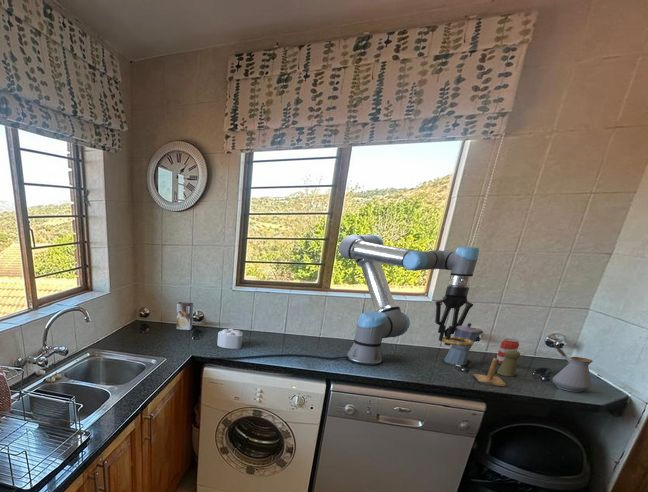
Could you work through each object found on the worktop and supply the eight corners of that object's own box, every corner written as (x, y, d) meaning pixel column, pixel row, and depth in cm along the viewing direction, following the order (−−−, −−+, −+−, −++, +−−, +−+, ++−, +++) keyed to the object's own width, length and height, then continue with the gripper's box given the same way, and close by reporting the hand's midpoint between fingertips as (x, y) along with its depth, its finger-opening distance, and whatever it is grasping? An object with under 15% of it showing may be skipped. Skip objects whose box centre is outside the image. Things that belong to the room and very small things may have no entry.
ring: (444, 344, 170) (445, 340, 169) (438, 338, 180) (438, 334, 179) (476, 347, 166) (477, 344, 165) (468, 341, 176) (469, 337, 175)
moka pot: (477, 368, 188) (491, 326, 181) (440, 365, 191) (452, 324, 184) (466, 361, 197) (479, 321, 190) (431, 359, 200) (443, 319, 193)
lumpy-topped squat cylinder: (240, 349, 213) (242, 333, 209) (216, 347, 216) (217, 331, 212) (241, 343, 222) (243, 328, 219) (218, 342, 225) (219, 327, 222)
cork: (514, 373, 182) (523, 350, 178) (514, 377, 177) (522, 353, 173) (497, 370, 185) (505, 347, 181) (496, 374, 181) (504, 350, 177)
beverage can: (492, 362, 196) (500, 338, 192) (500, 360, 198) (508, 337, 194) (506, 366, 191) (514, 342, 186) (514, 364, 193) (523, 340, 189)
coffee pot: (596, 394, 160) (613, 359, 155) (564, 393, 162) (579, 357, 156) (554, 375, 180) (567, 343, 174) (526, 374, 181) (538, 342, 176)
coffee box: (192, 328, 253) (193, 302, 248) (190, 330, 248) (191, 304, 242) (178, 326, 256) (179, 301, 250) (175, 329, 250) (176, 303, 245)
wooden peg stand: (478, 383, 171) (486, 360, 167) (472, 376, 179) (479, 354, 175) (505, 386, 168) (513, 363, 164) (497, 379, 175) (505, 357, 172)
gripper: (438, 286, 166) (425, 340, 174) (483, 288, 160) (466, 345, 168) (435, 283, 172) (422, 336, 181) (477, 285, 167) (462, 340, 175)
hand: (443, 340), depth 174 cm, fingers closed on ring, 2 cm apart
